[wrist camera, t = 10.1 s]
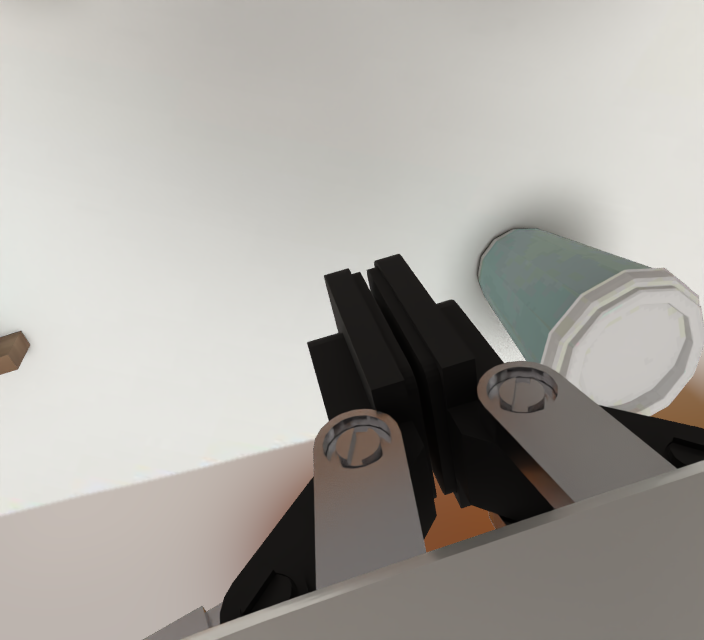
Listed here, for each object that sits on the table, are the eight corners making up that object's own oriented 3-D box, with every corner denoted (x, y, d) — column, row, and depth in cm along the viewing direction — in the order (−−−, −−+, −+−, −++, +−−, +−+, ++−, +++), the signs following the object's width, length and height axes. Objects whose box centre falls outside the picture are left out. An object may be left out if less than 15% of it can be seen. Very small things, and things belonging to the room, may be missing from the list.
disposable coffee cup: (448, 219, 41) (559, 315, 28) (579, 183, 42) (742, 260, 29) (459, 334, 47) (555, 457, 34) (574, 300, 48) (709, 407, 35)
